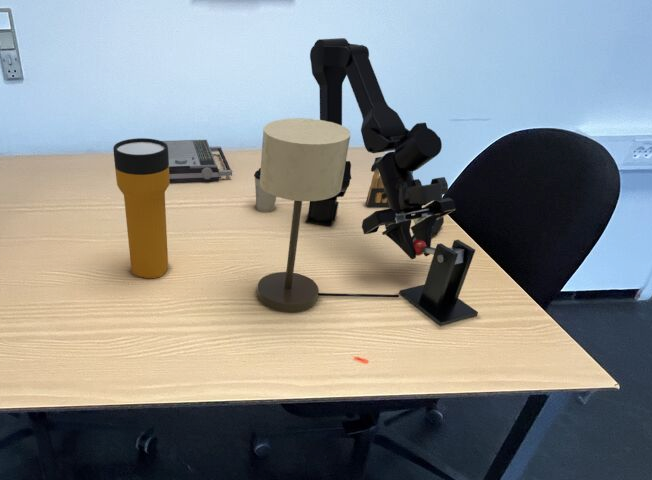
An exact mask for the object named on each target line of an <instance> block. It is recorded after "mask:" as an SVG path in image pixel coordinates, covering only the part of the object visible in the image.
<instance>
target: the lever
mask: <svg viewBox="0 0 652 480" xmlns="http://www.w3.org/2000/svg"><path fill="white" fill-rule="evenodd" d="M413 244H414V248H415V252H416V257H419V256H422V255H424V253H428V254H430V255H432V256H434V252H435V249H436V247H433V246H431V247H428V246H427V245H426V243H425V241H423V240H421V239H417V240H414V241H413ZM449 248H450V249H451V250H453V251H454V252H456V253H458V256H457V259H456V262H455V264H459V263H463V257H464V249H459V248H454V247H452V246H451V247H449Z"/></svg>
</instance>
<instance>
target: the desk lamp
mask: <svg viewBox="0 0 652 480" xmlns="http://www.w3.org/2000/svg"><path fill="white" fill-rule="evenodd" d="M262 131H263V132H262V144H261V160H260V168H261V171H260V186H261V188H262V189H263V190H264V191H266V192H267V193H269V194H271V195H273V196H276V198H280V199H282V200H283V199H284V200H289V201H293V209H292V216H291V217H292V218H291V225H290V226H291V227H290V234H289V244H288V253H287V254H288V255H287V260H286V261H287V263H286V269H285V270H286V271H279V272H278V271H277V272H272V273H269V274H267V275H264V276H263V277H262V278H260V280H259V281H258V283H257V289H256V290H257V291H256V296H257V299H258V301H259V302H260V304H262V305H263V306H265V307H266V308H268V309H270V310H273V311H277V312H281V313H287V314H288V313H291V314H292V313H294V314H295V313H301V312H305V311H308V310H309V309H312V308H313V307H314V306H315V305H316V304H317V301H318V298H319V297H357V298H358V297H360V298H361V297H362V298H399V297H400V295H399V294H377V293H376V294H374V293H373V294H372V293H333V292H332V293H326V292H319V290H320V289H319V286H318V284H317V282H316V281H314V279H311V278H310V277H308V276H307V275H304V274H300V273H297V272H294V271H295V264H296V255H297V247H298V239H299V231H300V224H301V223H300V222H301V215H302V206H303V202H310V201H319V200H325V199H329V198H332V197H334V196H336V195H337V194H339V192H340V191H341V187H342V182H343V176H344V170H345V164H346V161H347V158H348V152H349V145H350V139H351V131H350V130H349V129H348V128H347V127H345V126H344V125H342V126H341V125H339V124H336V123H333V122H328V121H323V120H320V119H315V118H300V117H299V118H298V117H297V118H284V119H283V118H282V119H277V120H273V121H270V122H268V123H266V124H265V125H264V126H263V129H262Z"/></svg>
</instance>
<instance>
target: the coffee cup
mask: <svg viewBox="0 0 652 480" xmlns="http://www.w3.org/2000/svg"><path fill="white" fill-rule="evenodd" d="M260 171H261V167H259V168H258V170H256V171H255V172H254V174H253V177H254V186H255V204H256V205H255V206H256V209H257V210H258V211H260V212H265V213H266V212H272V211H273V210H274V209H275V205H276V201H277V197H276V196H273V195H271V194H269V193H267V192H266V191H264V190H263V189H262V188H261V186H260Z"/></svg>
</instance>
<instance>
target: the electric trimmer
mask: <svg viewBox="0 0 652 480" xmlns="http://www.w3.org/2000/svg"><path fill="white" fill-rule="evenodd" d="M444 217H445V216H444ZM444 217H442V218H440V219H438V220H436V221H435V223H434V225H433V228H432V235H431V236H433V235H434V236H435V235H438V233H439V231H440V229H441V228H442V227H443V225H444V222H445V218H444ZM411 237H412V241H414V240H416V238H415V236H414V234H413V235H411Z"/></svg>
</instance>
